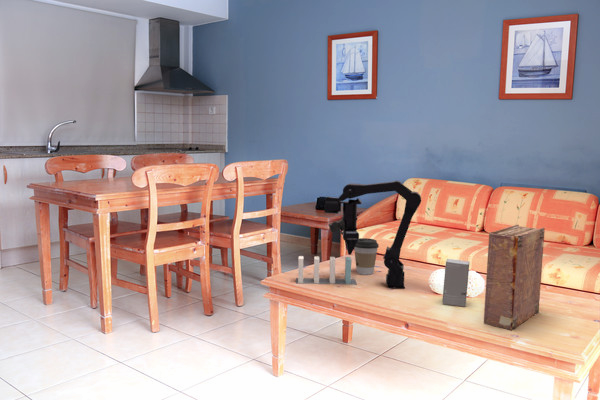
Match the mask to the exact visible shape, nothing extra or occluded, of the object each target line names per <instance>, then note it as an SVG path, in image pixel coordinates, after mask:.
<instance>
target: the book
mask: <svg viewBox="0 0 600 400" xmlns="http://www.w3.org/2000/svg"><path fill="white" fill-rule="evenodd" d="M544 241H545V227H542V228H541V227H540V228H534V227H526V226H519V224H514V225H511V226H508V227H504V228H502V229H499V230H495V231H491V232H489V233H488V247H487V262H486V276H485V277H486V280H485V295H484V296H485V297H484V309H483V310H484V312H483V324H484V325H490V326H493V327H496V328H501V329H504V330H510V331H513V330H515V329H516V328H518V327H519V326H521V325H522V324H524V323H526V321H528V320H530V319H531V318H533V317H534V316H536V315H537V314H539V312H540V311H539V310H540V298H541V297H540V296H541V283H542V272H543V270H542V269H543V254H544ZM535 314H536V315H535ZM532 316H533V317H532ZM529 318H530V319H529Z"/></svg>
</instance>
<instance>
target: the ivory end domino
mask: <svg viewBox="0 0 600 400" xmlns="http://www.w3.org/2000/svg"><path fill="white" fill-rule="evenodd" d="M304 260H305V259H304V256H303V255H299V256H298V265H297V266H298V267H297V268H298V274H297V275H298V276H297V278H298V283H303V278H304Z"/></svg>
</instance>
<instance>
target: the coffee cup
mask: <svg viewBox="0 0 600 400" xmlns="http://www.w3.org/2000/svg"><path fill="white" fill-rule="evenodd" d="M378 248H379V243H378V241H377V239H374V238H364V237H363V238H360V237H359V239H358V241H357V243H356V245H355V247H354V249H353V251H354V259H355V269H356V273H357V274H359V275H362V276H368V275H373V274H374V272H375V266H376V260H377V255H378V254H377V253H378Z"/></svg>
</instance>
